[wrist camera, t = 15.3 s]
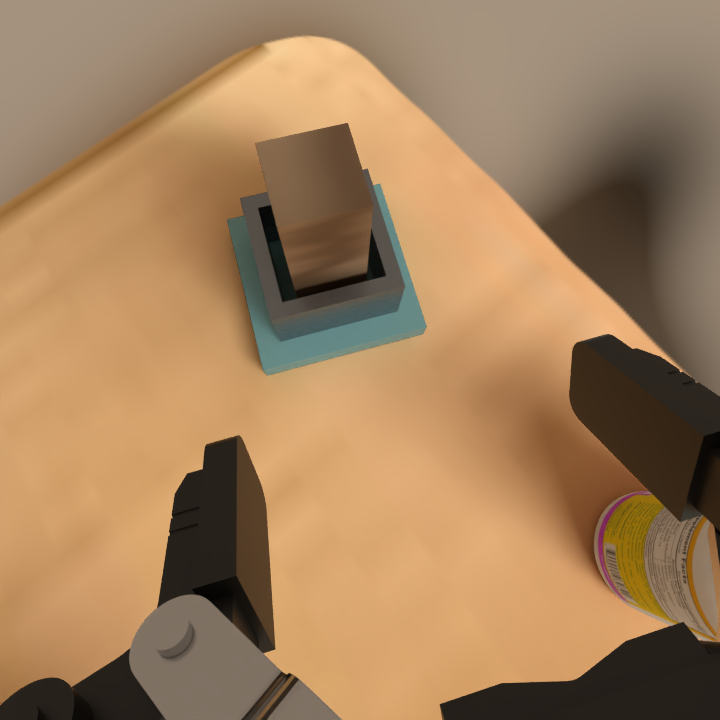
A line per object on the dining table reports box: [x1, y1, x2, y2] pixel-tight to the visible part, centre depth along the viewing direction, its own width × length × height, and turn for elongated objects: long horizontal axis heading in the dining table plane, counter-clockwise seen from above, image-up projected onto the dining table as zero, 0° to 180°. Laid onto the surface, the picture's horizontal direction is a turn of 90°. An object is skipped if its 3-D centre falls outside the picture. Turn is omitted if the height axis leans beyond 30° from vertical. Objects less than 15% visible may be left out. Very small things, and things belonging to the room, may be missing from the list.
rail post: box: [255, 123, 373, 299], centre depth 25 cm, size 4×4×10 cm
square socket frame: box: [240, 169, 405, 342], centre depth 28 cm, size 7×7×4 cm
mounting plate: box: [227, 184, 427, 375], centre depth 30 cm, size 10×10×2 cm
